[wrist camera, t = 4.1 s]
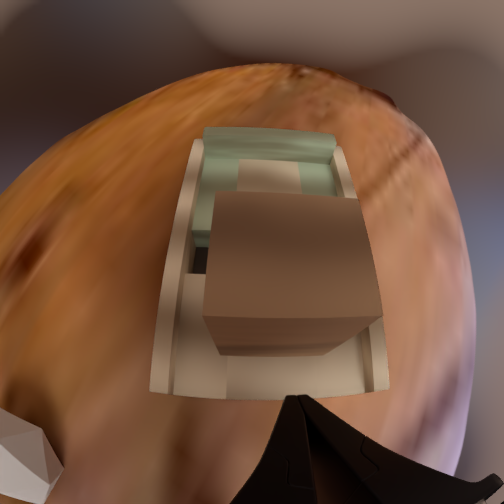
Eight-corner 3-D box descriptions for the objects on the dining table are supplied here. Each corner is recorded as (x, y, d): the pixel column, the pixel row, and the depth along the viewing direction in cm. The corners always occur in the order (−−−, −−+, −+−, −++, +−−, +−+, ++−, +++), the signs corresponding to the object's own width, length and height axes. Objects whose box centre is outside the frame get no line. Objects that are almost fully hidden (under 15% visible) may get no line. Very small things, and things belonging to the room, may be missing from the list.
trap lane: (363, 393, 19) (400, 386, 14) (167, 393, 18) (141, 390, 13) (331, 176, 31) (344, 135, 26) (198, 169, 30) (193, 127, 25)
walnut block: (323, 355, 18) (383, 315, 10) (220, 355, 17) (202, 315, 10) (317, 277, 21) (358, 198, 13) (224, 275, 21) (215, 190, 13)
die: (64, 410, 17) (-30, 373, 10) (88, 490, 11) (-36, 460, 4) (48, 452, 16) (-31, 425, 10) (70, 520, 10) (-26, 498, 3)
